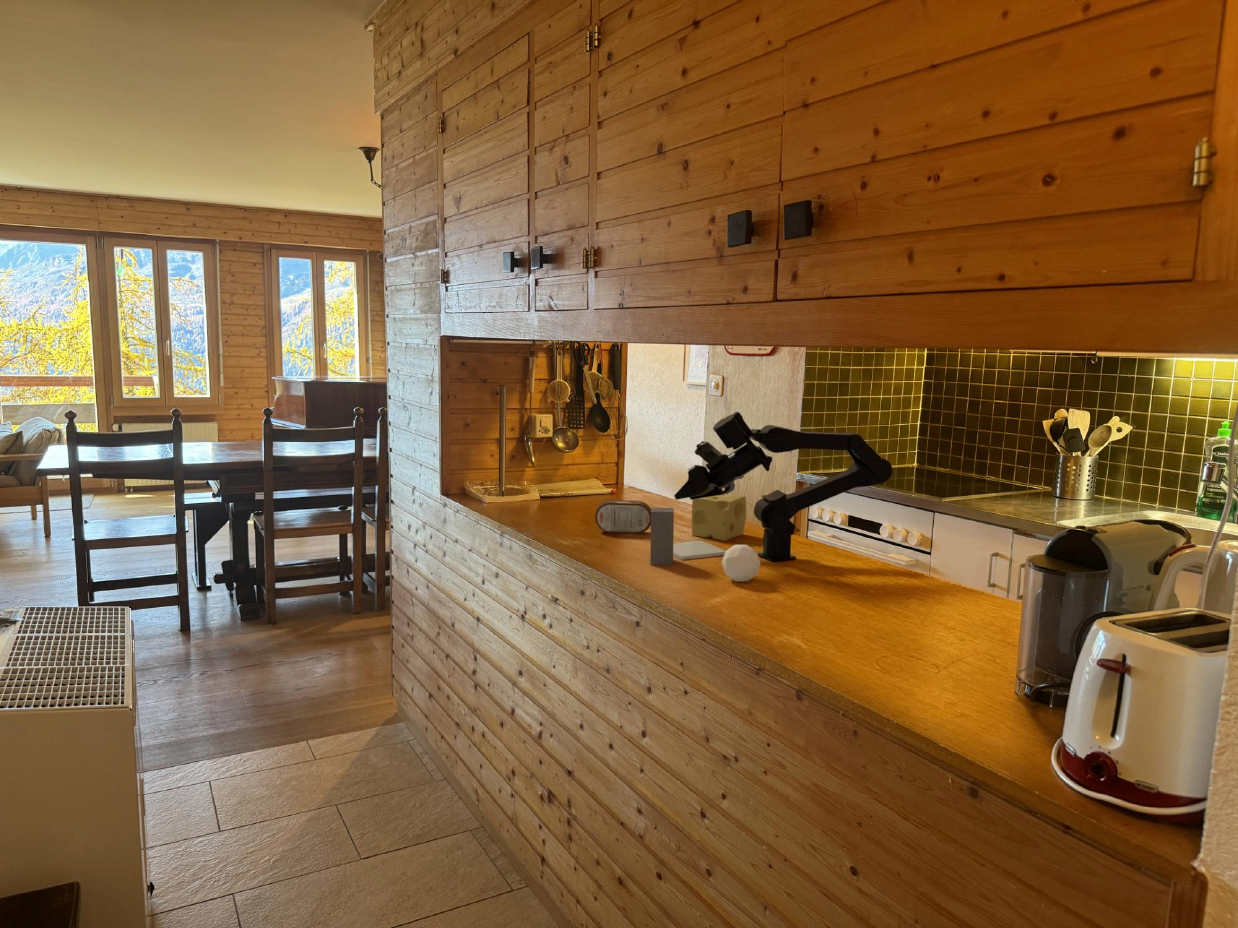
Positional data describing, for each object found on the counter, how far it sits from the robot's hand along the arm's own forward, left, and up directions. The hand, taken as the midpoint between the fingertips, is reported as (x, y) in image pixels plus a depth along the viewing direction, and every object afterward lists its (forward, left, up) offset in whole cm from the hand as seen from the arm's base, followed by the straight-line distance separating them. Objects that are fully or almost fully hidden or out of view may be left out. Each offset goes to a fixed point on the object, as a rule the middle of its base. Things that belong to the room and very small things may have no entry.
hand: (682, 497), depth 202 cm
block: (-6, +8, -13) cm, 17 cm away
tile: (0, -3, -13) cm, 13 cm away
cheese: (+13, -18, -13) cm, 26 cm away
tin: (+25, +3, -13) cm, 29 cm away
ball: (-26, 0, -13) cm, 29 cm away
